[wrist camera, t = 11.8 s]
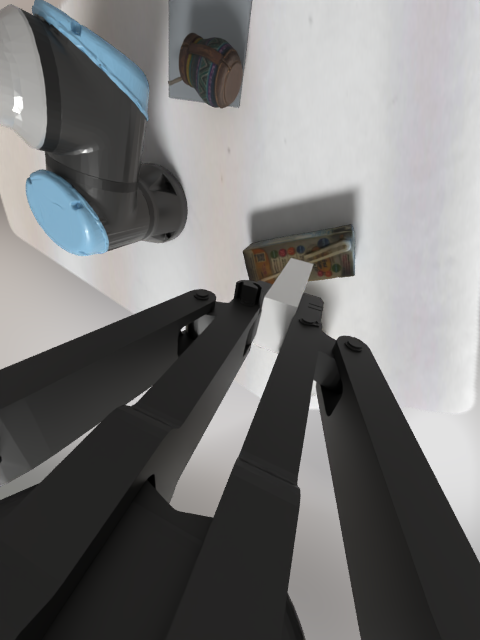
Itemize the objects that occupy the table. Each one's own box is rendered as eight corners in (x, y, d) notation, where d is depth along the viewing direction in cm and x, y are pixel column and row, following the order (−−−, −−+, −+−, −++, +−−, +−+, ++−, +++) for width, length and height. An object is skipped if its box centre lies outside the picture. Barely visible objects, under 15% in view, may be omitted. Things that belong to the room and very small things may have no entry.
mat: (170, 97, 43) (168, 97, 42) (171, -113, 31) (168, -117, 31) (239, 107, 40) (238, 107, 39) (266, -120, 29) (265, -124, 28)
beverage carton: (355, 267, 45) (356, 279, 40) (257, 279, 53) (248, 290, 48) (353, 222, 42) (354, 229, 37) (250, 242, 50) (238, 250, 45)
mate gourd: (243, 32, 31) (180, -3, 32) (213, 92, 32) (153, 57, 33) (251, 79, 38) (199, 50, 39) (226, 127, 40) (176, 98, 40)
